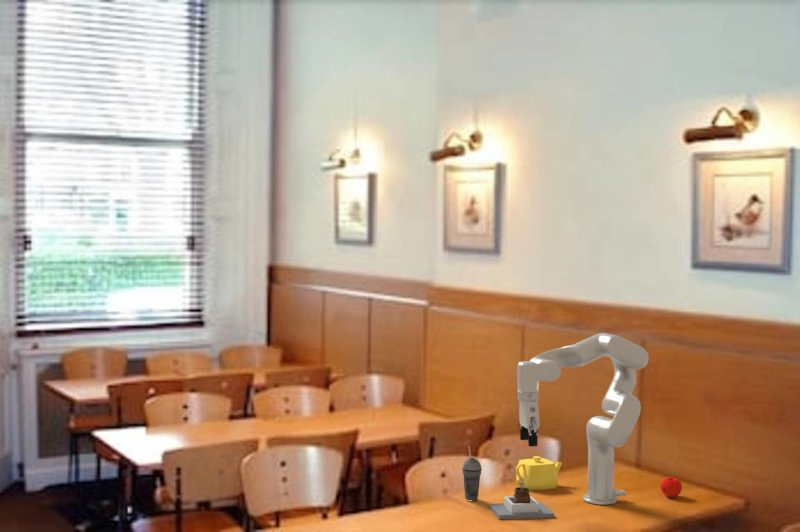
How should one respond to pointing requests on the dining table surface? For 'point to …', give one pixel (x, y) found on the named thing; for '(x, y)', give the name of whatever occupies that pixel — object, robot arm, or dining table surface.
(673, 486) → the apple
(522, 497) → the utensil holder
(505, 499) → the dock
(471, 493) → the beverage cup
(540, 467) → the teapot
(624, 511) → the dining table surface
